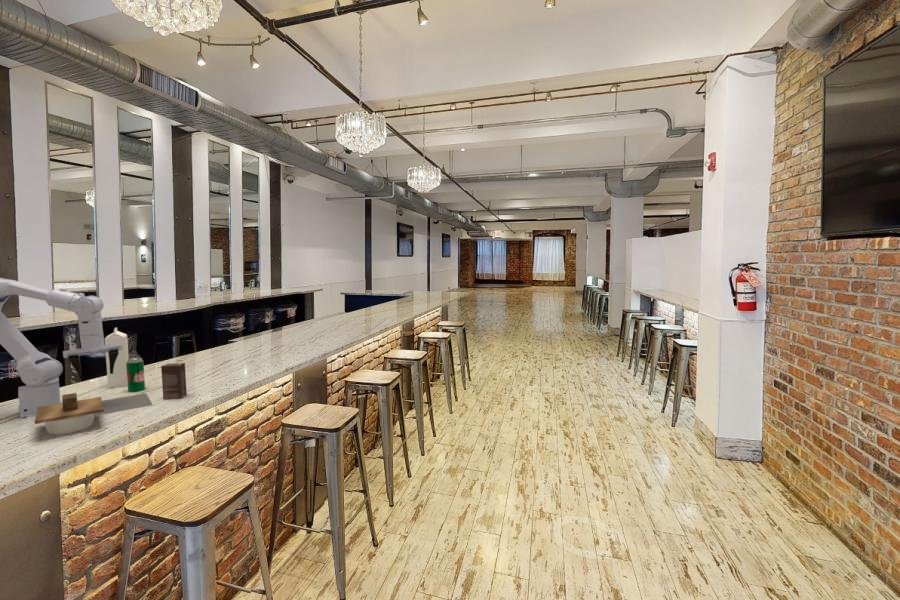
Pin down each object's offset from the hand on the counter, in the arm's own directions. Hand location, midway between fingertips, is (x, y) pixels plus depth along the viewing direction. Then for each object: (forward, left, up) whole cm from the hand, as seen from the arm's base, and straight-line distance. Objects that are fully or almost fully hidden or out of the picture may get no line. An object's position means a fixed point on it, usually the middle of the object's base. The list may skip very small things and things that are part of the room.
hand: (96, 375), depth 138 cm
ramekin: (-7, -18, -11) cm, 22 cm away
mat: (+5, -3, -10) cm, 12 cm away
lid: (-7, -17, -5) cm, 19 cm away
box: (+20, -6, -11) cm, 24 cm away
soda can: (+11, +12, -11) cm, 20 cm away
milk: (+7, +25, -11) cm, 28 cm away
